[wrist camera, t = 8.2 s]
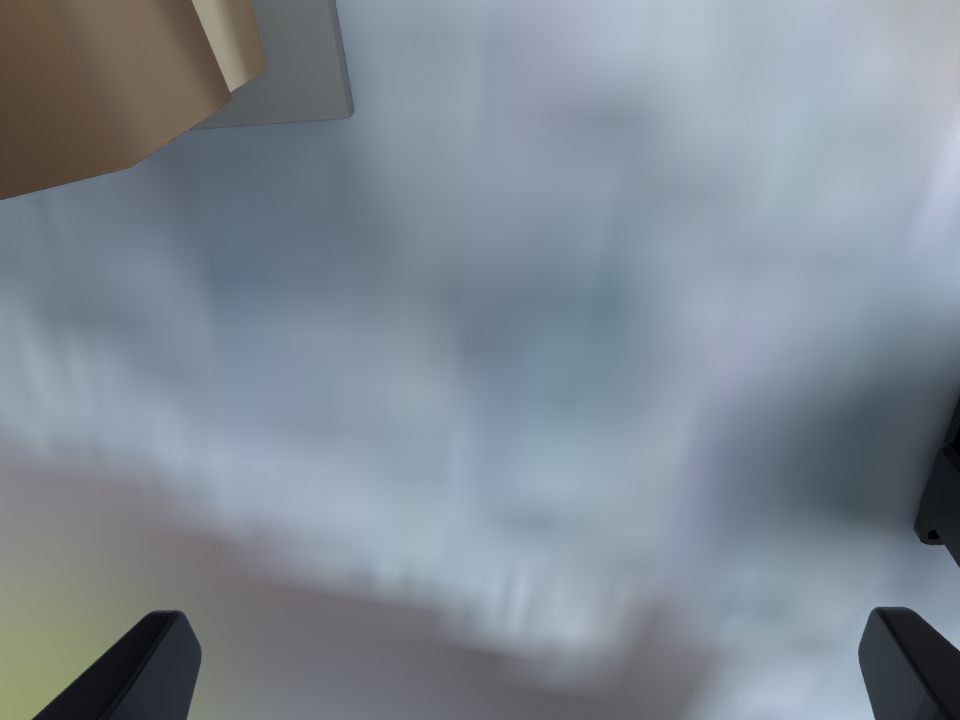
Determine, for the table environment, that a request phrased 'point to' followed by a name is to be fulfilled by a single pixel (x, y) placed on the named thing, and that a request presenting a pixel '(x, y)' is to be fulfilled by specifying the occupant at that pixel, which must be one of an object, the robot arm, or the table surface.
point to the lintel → (98, 86)
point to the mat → (292, 69)
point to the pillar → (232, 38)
